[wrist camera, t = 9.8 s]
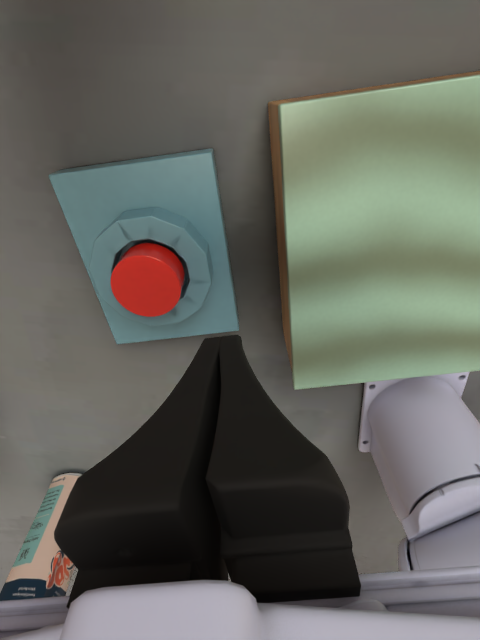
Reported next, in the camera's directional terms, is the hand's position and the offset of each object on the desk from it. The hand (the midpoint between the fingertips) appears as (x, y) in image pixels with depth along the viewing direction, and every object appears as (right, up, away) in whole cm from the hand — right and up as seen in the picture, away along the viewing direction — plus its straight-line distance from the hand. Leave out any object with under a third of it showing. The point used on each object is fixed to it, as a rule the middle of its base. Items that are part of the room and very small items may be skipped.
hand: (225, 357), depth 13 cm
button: (-4, +4, +6) cm, 9 cm away
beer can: (-16, -15, +22) cm, 31 cm away
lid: (+9, +4, +4) cm, 11 cm away
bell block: (-4, +6, +9) cm, 11 cm away
